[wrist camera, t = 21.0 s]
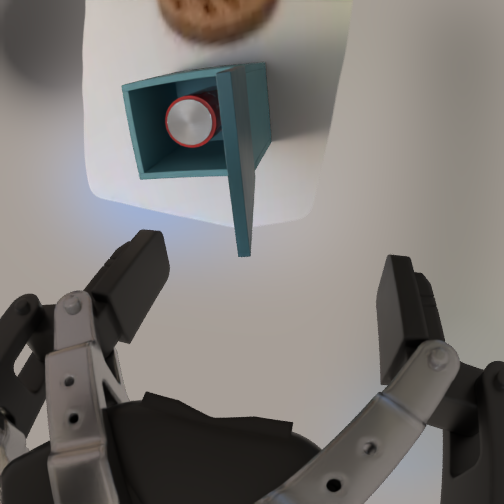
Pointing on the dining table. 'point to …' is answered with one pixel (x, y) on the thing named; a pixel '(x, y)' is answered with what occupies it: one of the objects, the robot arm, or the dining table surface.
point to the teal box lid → (238, 152)
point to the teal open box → (158, 139)
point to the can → (194, 118)
